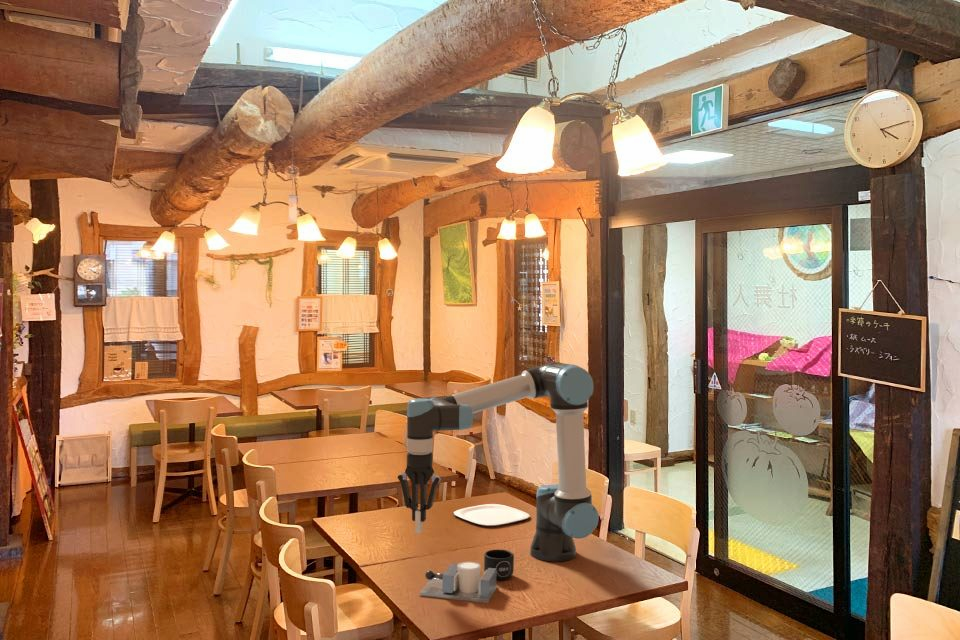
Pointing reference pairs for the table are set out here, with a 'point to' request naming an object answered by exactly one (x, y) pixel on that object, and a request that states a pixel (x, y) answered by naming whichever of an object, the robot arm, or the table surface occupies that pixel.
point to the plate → (491, 514)
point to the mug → (500, 563)
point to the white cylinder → (468, 576)
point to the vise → (482, 595)
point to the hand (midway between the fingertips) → (418, 532)
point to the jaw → (446, 578)
